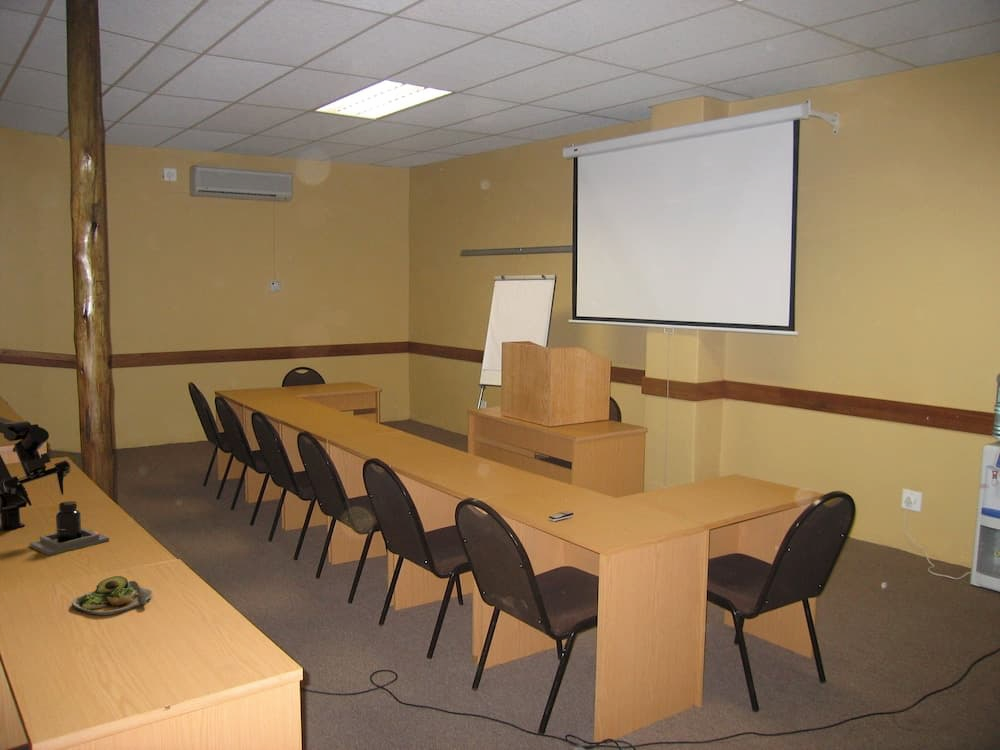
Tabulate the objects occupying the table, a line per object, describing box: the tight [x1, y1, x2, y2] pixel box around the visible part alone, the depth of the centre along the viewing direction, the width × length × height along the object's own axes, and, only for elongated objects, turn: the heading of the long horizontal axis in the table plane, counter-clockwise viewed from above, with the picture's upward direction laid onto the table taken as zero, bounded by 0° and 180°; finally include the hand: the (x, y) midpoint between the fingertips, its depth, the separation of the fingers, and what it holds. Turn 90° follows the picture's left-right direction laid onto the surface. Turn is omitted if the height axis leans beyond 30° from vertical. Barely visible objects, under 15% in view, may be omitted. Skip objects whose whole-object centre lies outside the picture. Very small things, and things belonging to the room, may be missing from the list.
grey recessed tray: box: [29, 526, 110, 556], centre depth 244 cm, size 14×18×2 cm
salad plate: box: [71, 575, 153, 616], centre depth 199 cm, size 19×18×5 cm
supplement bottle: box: [55, 500, 82, 543], centre depth 244 cm, size 7×7×12 cm
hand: (47, 499), depth 247 cm, fingers open, 9 cm apart
